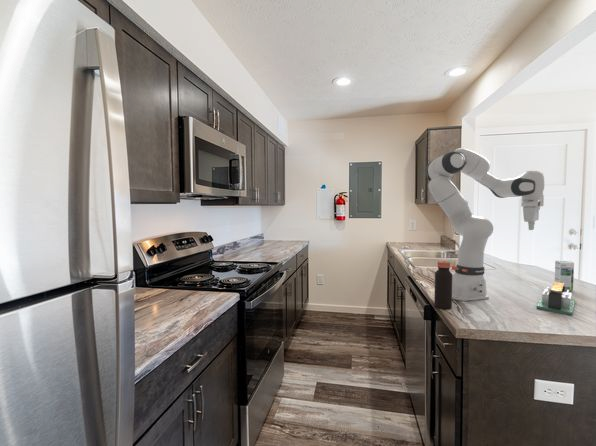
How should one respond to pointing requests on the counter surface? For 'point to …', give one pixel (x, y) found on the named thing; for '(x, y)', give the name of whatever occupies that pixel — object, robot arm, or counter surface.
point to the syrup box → (564, 273)
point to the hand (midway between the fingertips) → (531, 229)
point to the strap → (557, 288)
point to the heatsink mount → (557, 302)
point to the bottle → (443, 286)
